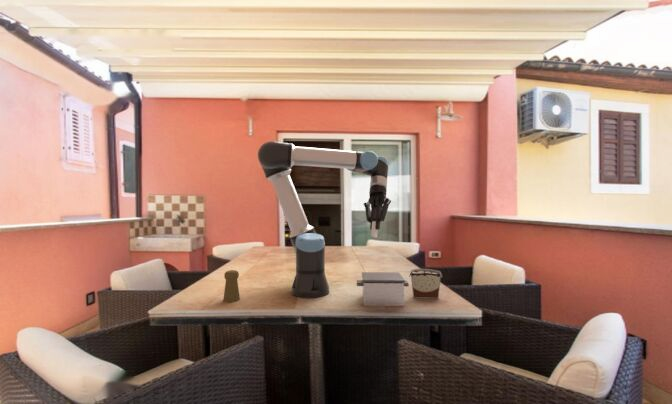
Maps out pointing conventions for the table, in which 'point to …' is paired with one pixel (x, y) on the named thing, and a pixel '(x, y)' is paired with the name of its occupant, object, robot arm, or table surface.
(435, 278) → the food container
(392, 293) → the rectangular cooking pot
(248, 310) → the table surface
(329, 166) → the robot arm
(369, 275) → the pot lid
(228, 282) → the cork
